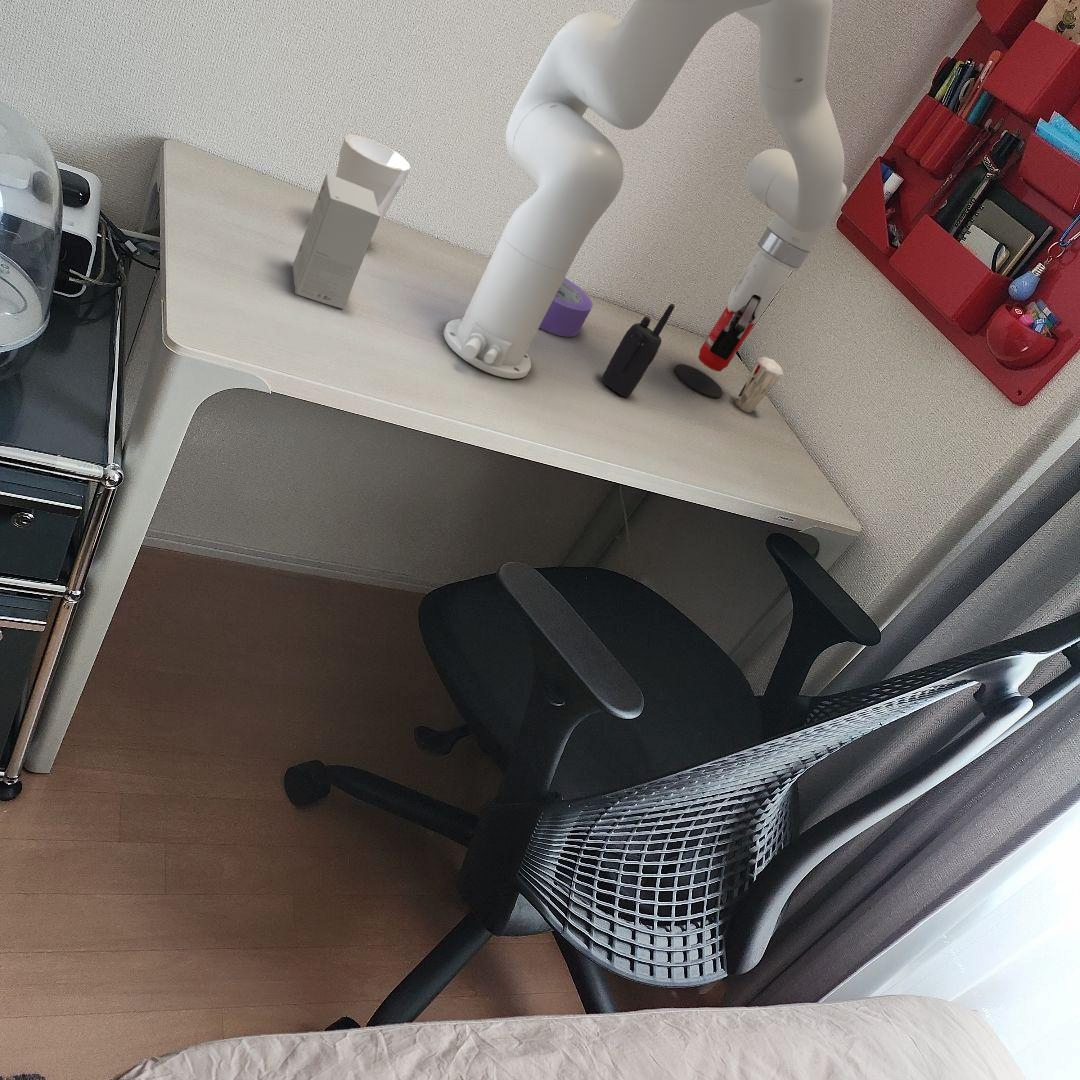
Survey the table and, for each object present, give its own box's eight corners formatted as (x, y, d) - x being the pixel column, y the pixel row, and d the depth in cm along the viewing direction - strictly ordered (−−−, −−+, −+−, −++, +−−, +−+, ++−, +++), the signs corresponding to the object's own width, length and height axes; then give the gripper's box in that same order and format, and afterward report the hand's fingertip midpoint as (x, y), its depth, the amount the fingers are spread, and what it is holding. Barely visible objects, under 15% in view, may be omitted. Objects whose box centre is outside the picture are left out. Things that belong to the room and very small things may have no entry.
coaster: (720, 405, 162) (721, 403, 161) (671, 378, 161) (673, 376, 161) (722, 385, 169) (723, 384, 169) (676, 359, 169) (677, 357, 168)
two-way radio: (634, 398, 147) (686, 310, 139) (618, 401, 144) (672, 311, 136) (606, 376, 149) (657, 288, 141) (591, 378, 145) (642, 289, 138)
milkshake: (759, 421, 164) (794, 371, 159) (731, 406, 164) (765, 355, 158) (758, 410, 168) (792, 361, 163) (730, 395, 167) (764, 345, 162)
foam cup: (388, 252, 147) (422, 170, 140) (350, 257, 139) (384, 170, 132) (340, 218, 149) (371, 135, 142) (300, 221, 141) (331, 133, 134)
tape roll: (567, 345, 151) (583, 316, 149) (501, 305, 151) (515, 276, 149) (585, 325, 161) (600, 298, 159) (523, 288, 161) (536, 260, 159)
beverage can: (693, 350, 164) (732, 286, 158) (719, 361, 166) (759, 299, 160) (700, 365, 160) (740, 300, 154) (727, 376, 162) (768, 313, 156)
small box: (343, 310, 125) (381, 216, 119) (294, 294, 123) (329, 197, 116) (339, 281, 131) (374, 190, 125) (291, 265, 129) (325, 171, 122)
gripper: (760, 225, 160) (701, 322, 169) (760, 250, 145) (695, 355, 154) (801, 248, 160) (739, 343, 169) (805, 275, 145) (737, 378, 155)
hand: (719, 348), depth 162 cm, fingers closed on beverage can, 5 cm apart
